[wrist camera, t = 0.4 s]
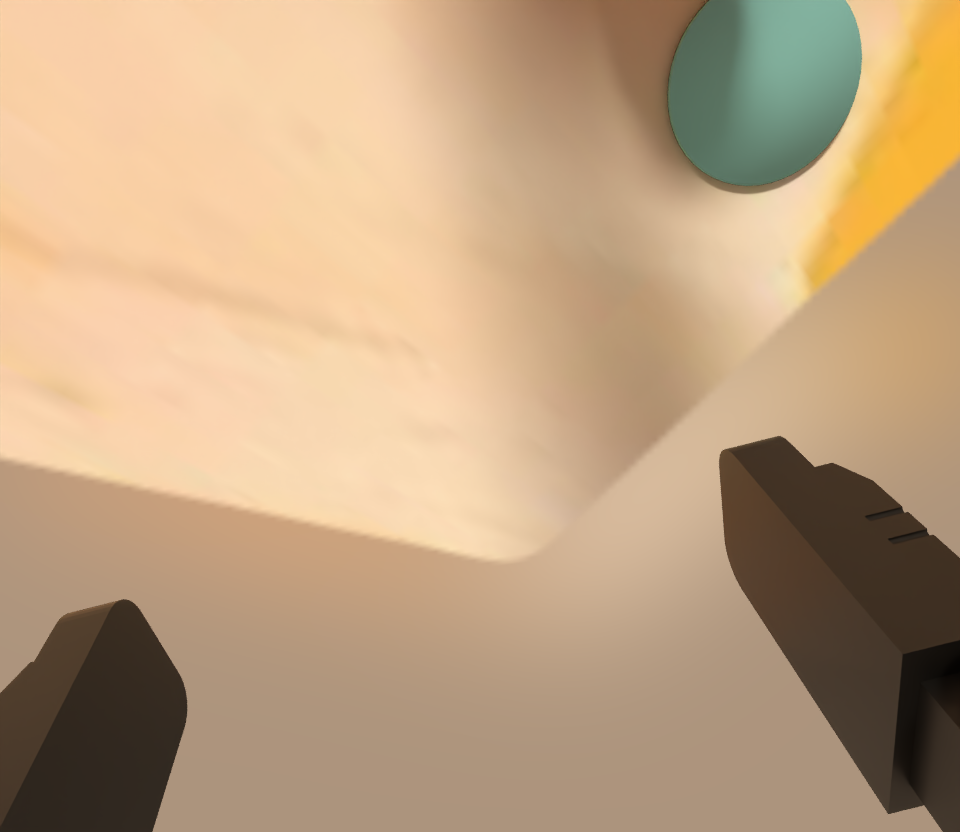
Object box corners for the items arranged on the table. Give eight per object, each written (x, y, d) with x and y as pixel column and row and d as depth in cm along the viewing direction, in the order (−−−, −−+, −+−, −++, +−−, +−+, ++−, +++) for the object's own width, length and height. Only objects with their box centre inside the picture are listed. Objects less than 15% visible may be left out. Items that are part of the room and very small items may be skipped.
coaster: (683, -37, 30) (687, -38, 30) (879, -27, 31) (885, -28, 31) (655, 183, 34) (657, 184, 34) (829, 185, 35) (834, 186, 35)
